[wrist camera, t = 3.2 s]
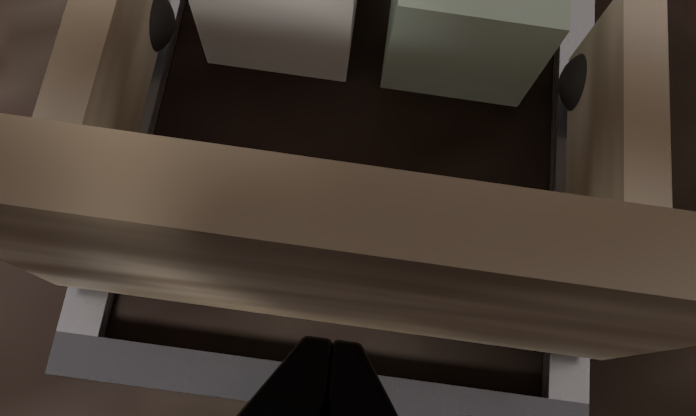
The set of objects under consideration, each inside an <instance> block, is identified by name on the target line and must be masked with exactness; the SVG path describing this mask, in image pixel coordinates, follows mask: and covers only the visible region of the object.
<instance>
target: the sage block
mask: <svg viewBox="0 0 696 416" xmlns="http://www.w3.org/2000/svg"><path fill="white" fill-rule="evenodd" d="M570 13H571V0H391V6H390V14H389V22H388V29H387V37H386V45H385V53H384V61H383V69H382V77H381V84H380V87H381V88H388V89H395V90H402V91H409V92H416V93H423V94H430V95H437V96H444V97H451V98H458V99H465V100H472V101H479V102H486V103H492V104H499V105H506V106H513V107H518V105H519V104H520V102H521V101H522V99H523V98H524V96H525V95H526V94H527V92H528V91H529V89H530V88H531V86H532V85H533V83H534V82H535V81H536V79H537V78H538V76H539V75H540V73H541V72H542V70H543V69H544V68H545V66H546V65H547V63H548V62H549V60H550V59H551V57H552V56H553V55H554V53H555V52H556V50H557V49H558V47H559V46H560V44H561V43H562V41H563V40H564V39H565V37H566V36H567V34H568V33H569V31H570Z"/></svg>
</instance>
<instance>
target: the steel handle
mask: <svg viewBox="0 0 696 416" xmlns="http://www.w3.org/2000/svg"><path fill="white" fill-rule="evenodd" d="M185 3H186V0H171V3H170V4H171V6H172V8H173V11H174V15H175V30H174V34H173V36H172V38H171V40H170V41H169V43H168V44H167V45H166V46H165V47H164V48H163V49H161V50H160V51H158V55H157V59H156V63H155V67H154V71H153V75H152V79H151V83H150V87H149V91H148V95H147V99H146V103H145V107H144V111H143V115H142V119H141V123H140V127H139V131H138V133H144V134H152V135H154V131H155V127H156V122H157V118H158V114H159V110H160V106H161V102H162V98H163V94H164V89H165V85H166V81H167V77H168V73H169V69H170V65H171V60H172V56H173V52H174V48H175V44H176V40H177V36H178V32H179V27H180V23H181V19H182V15H183V11H184V7H185ZM594 25H595V0H571V13H570V31H569V33H568V34H567V36H566V37H565V39H564V40H563V41H562V43H561V44H560V46H559V47H558V49H557V50H556V52H555V53H554V65H553V93H552V121H551V149H550V177H549V191H555V192H562V193H565V179H566V143H567V109H566V108H565V107H564V105H563V104H562V102H561V100H560V97H559V93H558V81H559V77H560V74H561V72H562V70H563V69H564V67H565V66H566V64H567V63H568V62H569V58H570V57H571V55H572V54H573V53H574V51H575V50H576V49H577V47H578V46H579V45H580V43H581V42H582V41H583V39H584V38H585V37H586V35H587V34H588V33H589V31H590V30H591V29H592V27H593V26H594ZM114 296H115V293H111V292H104V291H97V290H89V289H82V288H75V287H68V288H67V292H66V296H65V300H64V303H63V307H62V311H61V315H60V318H59V322H58V326H57V330H56V333H55V337H54V341H53V345H52V348H51V352H50V356H49V360H48V363H47V367H46V371H45V374H51V375H59V376H66V377H73V378H81V379H88V380H95V381H103V382H110V383H117V384H125V385H132V386H140V387H147V388H154V389H162V390H169V391H176V392H184V393H191V394H198V395H206V396H213V397H220V398H228V399H235V400H243V401H249V400H250V399H251V398H252V397H253V396H254V394H255V393H256V392H257V391H258V390H259V389H260V387H261V386H262V385H263V384H264V383H265V381H266V380H267V379H268V378H269V377H270V376H271V374H272V373H273V372H274V371H275V370H276V369H277V367H278V366H279V365H280V364H281V363H282V362H279V361H272V360H264V359H257V358H250V357H242V356H235V355H228V354H221V353H213V352H206V351H199V350H191V349H184V348H177V347H169V346H162V345H155V344H147V343H140V342H133V341H126V340H118V339H111V338H104V337H105V333H106V329H107V325H108V321H109V316H110V312H111V308H112V304H113V300H114ZM378 377H379V379H380V381H381V383H382V385H383V387H384V389H385V391H386V393H387V395H388V397H389V398H390V400H391V402H392V404H393V406H394V408H395V410H396V412H397V414H398V416H589V387H590V358H583V357H575V356H568V355H561V354H554V353H546V352H543V372H542V397H535V396H527V395H520V394H513V393H505V392H498V391H491V390H484V389H476V388H469V387H462V386H454V385H447V384H440V383H432V382H425V381H418V380H410V379H403V378H396V377H389V376H381V375H378Z"/></svg>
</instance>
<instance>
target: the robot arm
mask: <svg viewBox="0 0 696 416" xmlns="http://www.w3.org/2000/svg"><path fill="white" fill-rule="evenodd" d="M237 416H398V414H397V412H396V410H395V408H394V406H393V404H392V402H391V400H390V398H389V397H388V395H387V393H386V391H385V389H384V387H383V385H382V383H381V381H380V379H379V377H378V375H377V373H376V371H375V369H374V368H373V366H372V364H371V362H370V360H369V358H368V356H367V354H366V352H365V350H364V348H363V347H362V345H361V344H360V343H357V342H350V341H343V340H335V341H334V342H333V344H332V342H331V340H330V339H328V338H321V337H313V336H305V337H303V338H302V339H301V340H300V341H299V343H298V344H297V345H296V346H295V347H294V349H293V350H292V351H291V352H290V353H289V354H288V356H287V357H286V358H285V359H284V360H283V361H282V363H281V364H280V365H279V366H278V367H277V369H276V370H275V371H274V372H273V373H272V374H271V376H270V377H269V378H268V379H267V380H266V381H265V383H264V384H263V385H262V386H261V387H260V389H259V390H258V391H257V392H256V393H255V394H254V396H253V397H252V398H251V399H250V400H249V401H248V403H247V404H246V405H245V406H244V407H243V409H242V410H241V411H240V412H239V413H238V414H237Z"/></svg>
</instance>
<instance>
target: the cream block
mask: <svg viewBox="0 0 696 416" xmlns="http://www.w3.org/2000/svg"><path fill="white" fill-rule="evenodd" d="M188 2H189V5H190V8H191V11H192V14H193V18H194V21H195V24H196V27H197V31H198V34H199V37H200V40H201V43H202V47H203V50H204V53H205V56H206V60H207V63H212V64H219V65H227V66H234V67H241V68H248V69H255V70H262V71H270V72H277V73H284V74H291V75H298V76H306V77H313V78H320V79H327V80H334V81H342V82H346V77H347V70H348V63H349V56H350V49H351V41H352V34H353V27H354V20H355V13H356V6H357V0H188Z"/></svg>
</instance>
